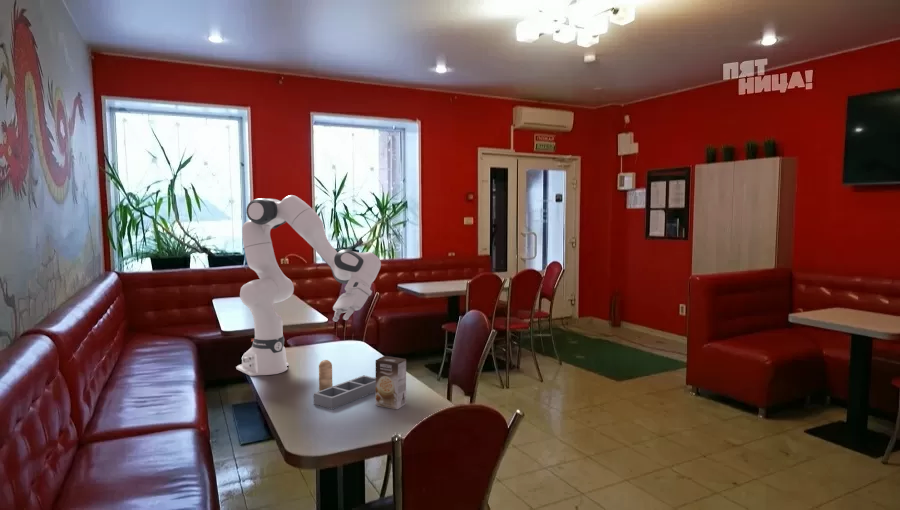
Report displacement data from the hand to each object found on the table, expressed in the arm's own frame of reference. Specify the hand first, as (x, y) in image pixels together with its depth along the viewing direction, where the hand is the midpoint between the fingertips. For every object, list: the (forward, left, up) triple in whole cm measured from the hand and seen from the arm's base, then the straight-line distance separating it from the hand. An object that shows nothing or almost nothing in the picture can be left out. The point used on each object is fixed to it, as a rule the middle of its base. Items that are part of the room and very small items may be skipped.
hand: (339, 320), depth 205 cm
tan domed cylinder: (+1, -8, -25) cm, 26 cm away
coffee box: (+31, -6, -25) cm, 40 cm away
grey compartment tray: (+13, -8, -25) cm, 29 cm away
